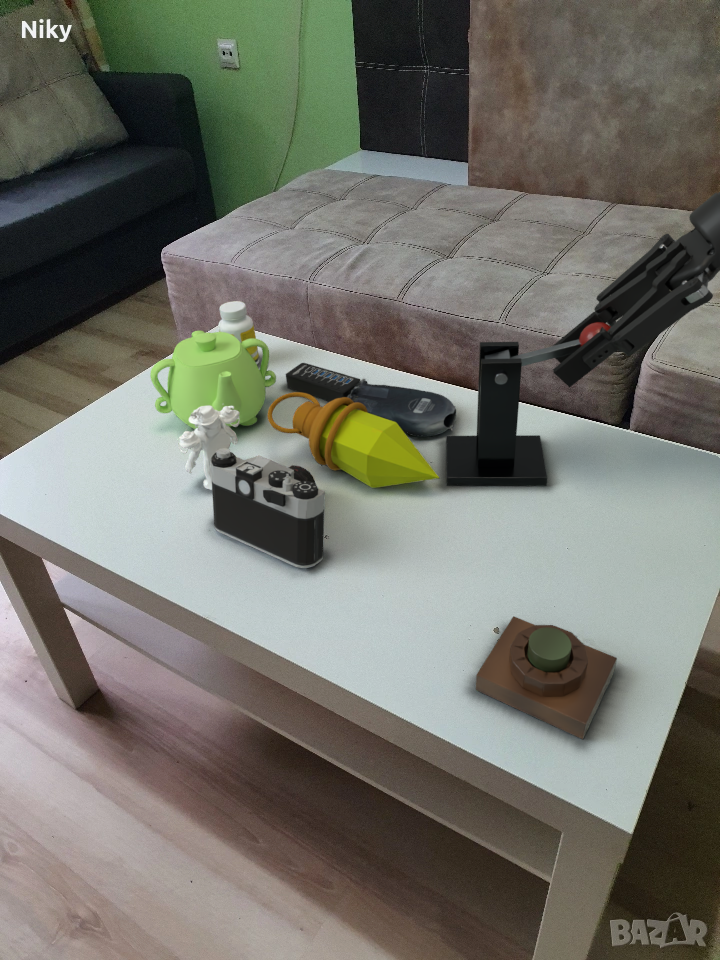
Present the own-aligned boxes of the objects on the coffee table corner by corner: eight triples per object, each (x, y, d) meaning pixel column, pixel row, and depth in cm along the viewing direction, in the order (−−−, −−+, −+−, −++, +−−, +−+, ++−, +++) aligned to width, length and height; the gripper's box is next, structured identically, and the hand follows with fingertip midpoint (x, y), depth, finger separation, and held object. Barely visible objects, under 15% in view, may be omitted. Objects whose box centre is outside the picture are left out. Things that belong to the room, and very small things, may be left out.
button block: (613, 673, 69) (620, 644, 66) (582, 739, 64) (588, 711, 61) (511, 631, 74) (514, 602, 71) (475, 690, 68) (476, 661, 66)
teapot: (300, 404, 109) (289, 324, 102) (242, 456, 100) (226, 373, 92) (211, 382, 116) (196, 306, 108) (150, 429, 106) (128, 349, 99)
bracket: (539, 443, 98) (550, 332, 88) (546, 486, 91) (559, 371, 81) (446, 443, 99) (446, 334, 90) (446, 485, 92) (447, 372, 83)
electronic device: (341, 437, 104) (444, 443, 98) (335, 400, 102) (440, 403, 96) (368, 410, 112) (465, 414, 105) (362, 375, 109) (462, 377, 103)
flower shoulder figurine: (204, 504, 92) (184, 422, 85) (183, 493, 94) (161, 412, 87) (255, 467, 98) (240, 387, 90) (234, 458, 100) (218, 378, 92)
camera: (358, 533, 88) (361, 456, 83) (301, 576, 80) (301, 494, 75) (262, 494, 95) (260, 421, 90) (201, 530, 87) (195, 453, 82)
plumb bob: (458, 474, 95) (297, 404, 104) (459, 426, 87) (287, 356, 97) (421, 527, 90) (258, 449, 100) (419, 481, 83) (243, 402, 93)
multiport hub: (345, 406, 108) (344, 392, 107) (286, 387, 113) (284, 374, 112) (362, 392, 111) (361, 378, 109) (304, 374, 116) (302, 361, 115)
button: (575, 650, 67) (577, 637, 66) (560, 679, 64) (562, 665, 63) (537, 634, 68) (538, 621, 67) (520, 662, 66) (522, 649, 65)
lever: (615, 342, 86) (610, 311, 83) (622, 360, 82) (616, 328, 80) (490, 374, 90) (482, 346, 87) (492, 392, 86) (484, 362, 84)
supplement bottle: (259, 353, 123) (250, 297, 117) (260, 369, 118) (250, 311, 112) (226, 357, 122) (215, 301, 116) (225, 373, 118) (214, 316, 112)
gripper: (799, 276, 69) (591, 428, 81) (741, 214, 82) (570, 352, 94) (752, 219, 66) (544, 386, 78) (700, 165, 80) (530, 314, 91)
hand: (559, 367), depth 86 cm, fingers closed on lever, 4 cm apart
